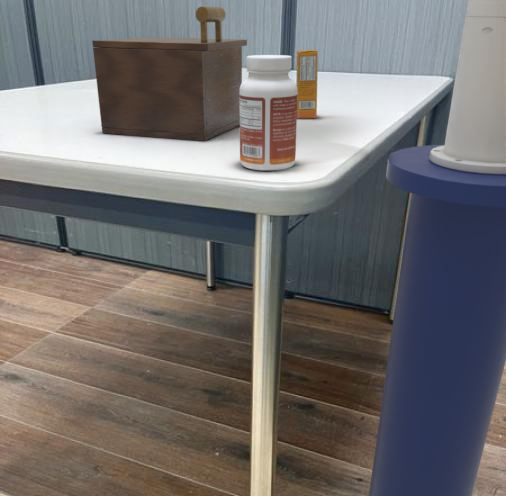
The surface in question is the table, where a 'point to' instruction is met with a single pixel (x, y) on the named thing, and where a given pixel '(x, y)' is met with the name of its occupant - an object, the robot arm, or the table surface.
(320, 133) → the table surface
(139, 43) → the lid
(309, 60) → the supplement box
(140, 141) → the table surface
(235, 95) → the chest
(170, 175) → the table surface
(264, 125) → the pill bottle
